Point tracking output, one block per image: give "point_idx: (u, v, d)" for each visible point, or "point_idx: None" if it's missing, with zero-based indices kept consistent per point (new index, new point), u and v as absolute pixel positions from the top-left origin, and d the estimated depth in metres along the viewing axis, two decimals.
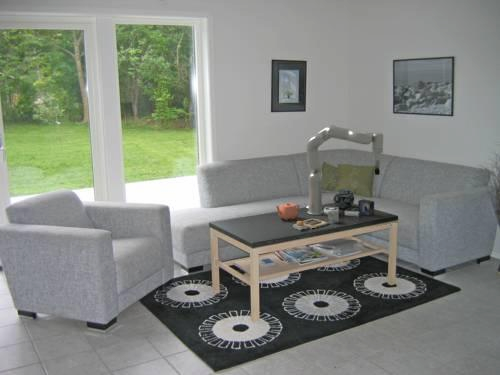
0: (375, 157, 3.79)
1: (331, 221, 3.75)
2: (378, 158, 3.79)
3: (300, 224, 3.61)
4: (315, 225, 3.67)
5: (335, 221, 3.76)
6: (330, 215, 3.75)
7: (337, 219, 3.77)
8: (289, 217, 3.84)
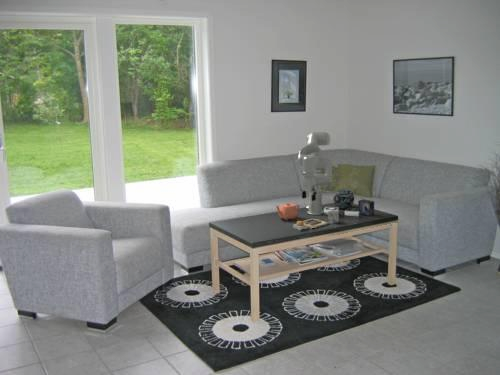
0: (311, 182, 3.55)
1: (331, 221, 3.75)
2: (314, 183, 3.56)
3: (300, 224, 3.61)
4: (315, 225, 3.67)
5: (335, 221, 3.76)
6: (330, 215, 3.75)
7: (337, 219, 3.77)
8: (289, 217, 3.84)
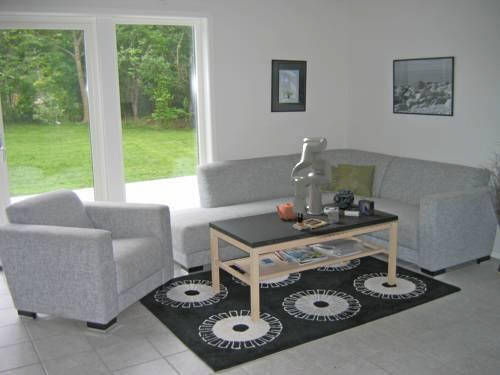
0: (303, 204, 3.55)
1: (331, 221, 3.75)
2: (305, 204, 3.56)
3: (300, 225, 3.61)
4: (315, 225, 3.67)
5: (335, 221, 3.76)
6: (330, 215, 3.75)
7: (337, 219, 3.77)
8: (289, 217, 3.84)
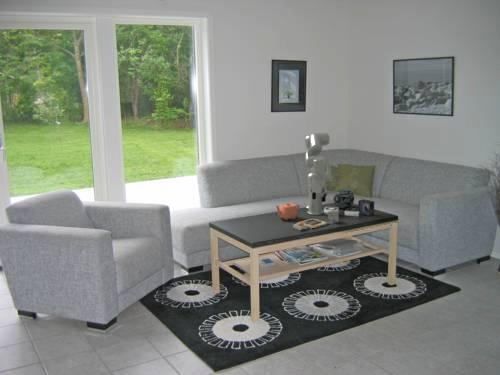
0: (322, 184, 3.60)
1: (331, 221, 3.75)
2: (324, 184, 3.62)
3: (300, 225, 3.61)
4: (315, 225, 3.67)
5: (335, 221, 3.76)
6: (330, 215, 3.75)
7: (337, 219, 3.77)
8: (289, 217, 3.84)
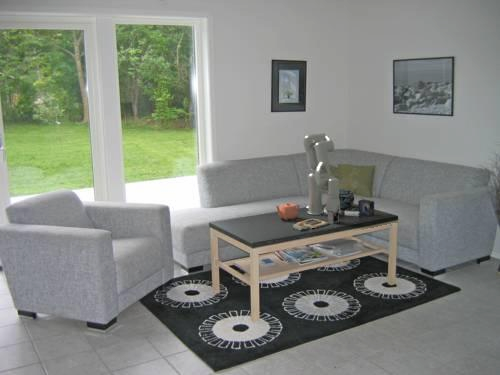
0: (336, 203, 3.70)
1: (331, 221, 3.75)
2: (339, 203, 3.71)
3: (300, 225, 3.61)
4: (315, 225, 3.67)
5: None
6: (330, 215, 3.75)
7: None
8: (289, 217, 3.84)
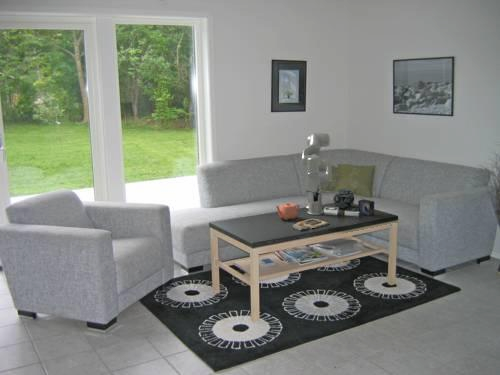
0: (316, 182, 3.62)
1: (311, 201, 3.67)
2: (319, 183, 3.64)
3: (300, 225, 3.61)
4: (315, 225, 3.67)
5: None
6: (310, 195, 3.67)
7: None
8: (289, 217, 3.84)
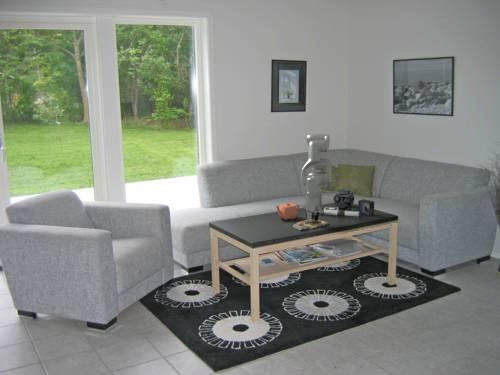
0: (315, 202, 3.65)
1: (310, 222, 3.70)
2: (317, 203, 3.67)
3: (300, 225, 3.61)
4: (315, 225, 3.67)
5: (314, 222, 3.71)
6: (309, 215, 3.70)
7: None
8: (289, 217, 3.84)
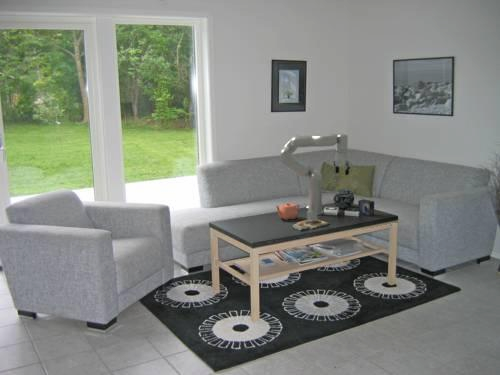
0: (345, 158, 3.86)
1: (310, 222, 3.70)
2: (347, 158, 3.88)
3: (300, 225, 3.61)
4: (315, 225, 3.67)
5: (314, 222, 3.71)
6: (309, 215, 3.70)
7: (316, 219, 3.72)
8: (289, 217, 3.84)
